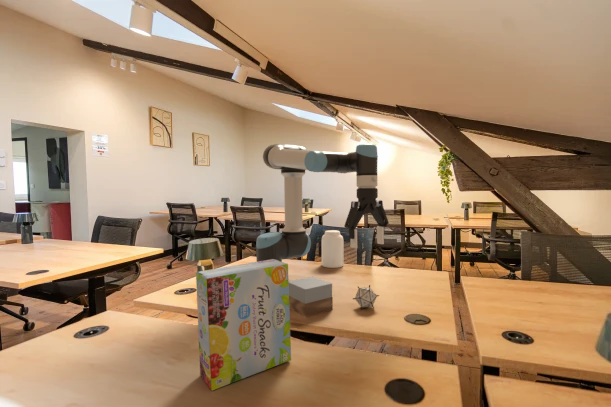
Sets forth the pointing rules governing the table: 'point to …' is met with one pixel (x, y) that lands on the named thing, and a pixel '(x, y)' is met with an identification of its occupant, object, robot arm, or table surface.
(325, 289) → the tower top
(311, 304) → the tower base
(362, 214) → the robot arm
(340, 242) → the white plastic jar
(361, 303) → the game die
